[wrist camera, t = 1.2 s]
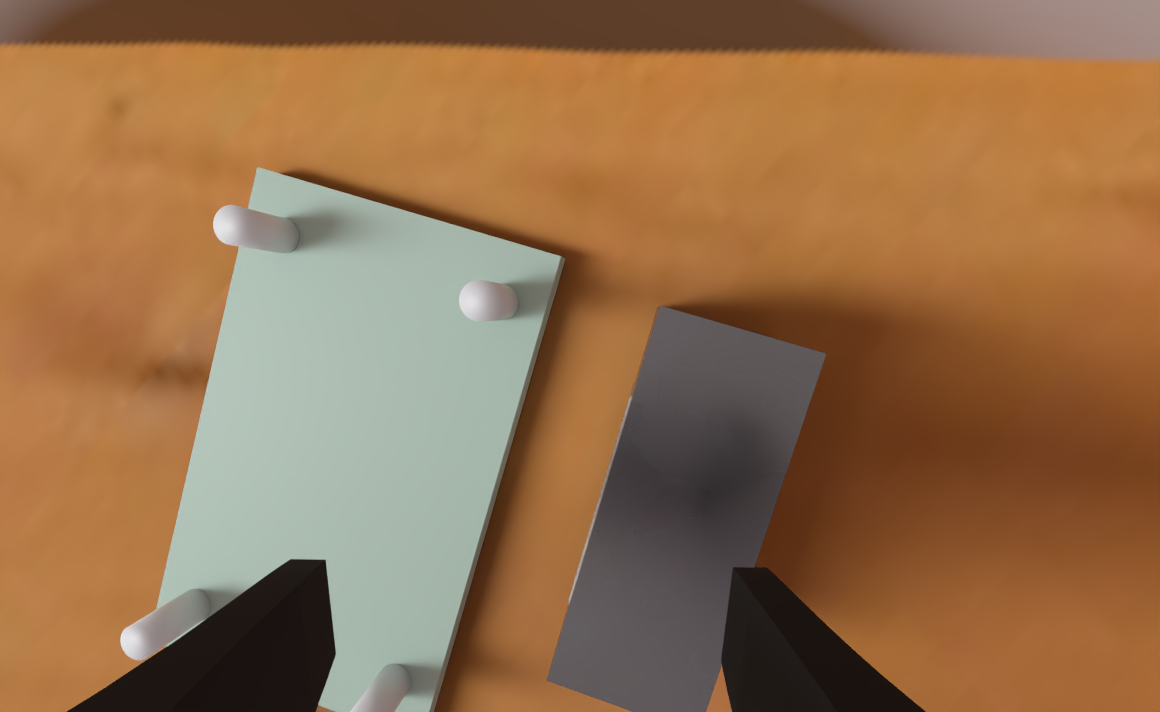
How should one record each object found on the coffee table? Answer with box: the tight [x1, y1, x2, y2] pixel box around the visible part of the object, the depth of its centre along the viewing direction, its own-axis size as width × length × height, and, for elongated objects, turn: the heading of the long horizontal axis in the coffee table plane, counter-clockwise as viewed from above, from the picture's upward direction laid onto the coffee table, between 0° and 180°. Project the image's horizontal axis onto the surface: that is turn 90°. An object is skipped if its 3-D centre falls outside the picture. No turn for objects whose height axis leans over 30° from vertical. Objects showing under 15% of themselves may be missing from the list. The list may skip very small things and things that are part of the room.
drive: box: [547, 306, 826, 712], centre depth 17 cm, size 4×10×6 cm, turn 164°
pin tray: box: [121, 167, 565, 712], centre depth 20 cm, size 11×18×4 cm, turn 163°
